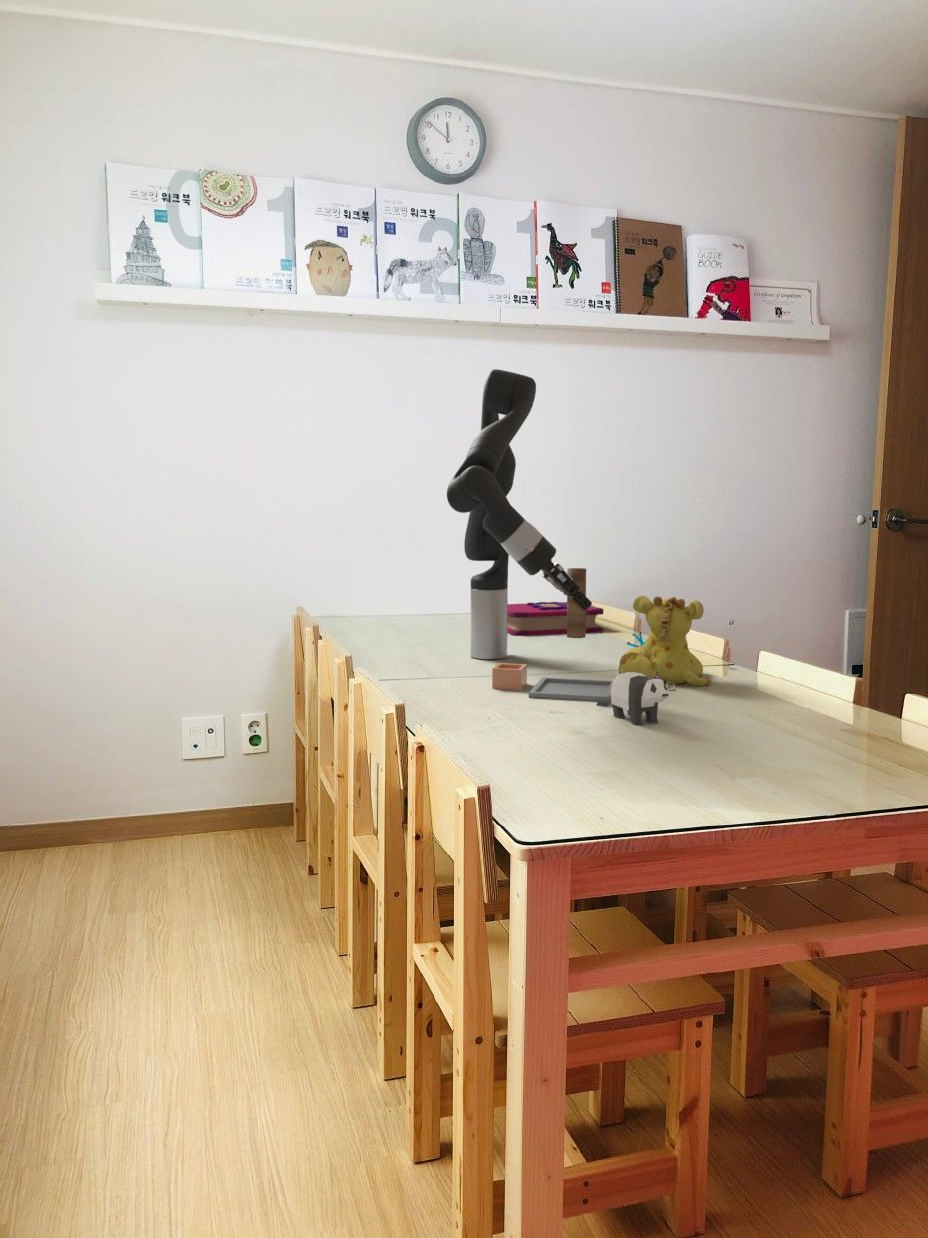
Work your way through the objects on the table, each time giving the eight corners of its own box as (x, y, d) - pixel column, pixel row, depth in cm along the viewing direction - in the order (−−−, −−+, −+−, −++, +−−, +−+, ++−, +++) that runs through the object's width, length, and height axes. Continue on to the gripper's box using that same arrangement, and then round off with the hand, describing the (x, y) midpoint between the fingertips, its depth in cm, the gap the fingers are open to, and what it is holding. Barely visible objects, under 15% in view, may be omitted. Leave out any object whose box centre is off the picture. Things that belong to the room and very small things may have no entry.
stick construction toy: (627, 653, 247) (632, 626, 250) (618, 665, 253) (622, 637, 257) (674, 667, 248) (678, 639, 251) (664, 678, 254) (667, 650, 257)
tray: (542, 685, 220) (542, 677, 220) (616, 689, 216) (616, 681, 216) (528, 701, 205) (528, 692, 205) (608, 705, 201) (608, 696, 201)
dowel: (568, 635, 211) (568, 567, 209) (586, 635, 210) (587, 568, 208) (565, 637, 207) (566, 569, 205) (584, 638, 206) (584, 569, 204)
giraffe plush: (694, 669, 239) (697, 588, 236) (725, 690, 216) (728, 601, 213) (608, 670, 238) (610, 588, 235) (630, 691, 215) (632, 601, 212)
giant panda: (607, 715, 194) (608, 665, 192) (631, 712, 196) (632, 663, 195) (652, 732, 180) (653, 680, 179) (677, 729, 183) (679, 677, 181)
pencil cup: (498, 685, 220) (498, 663, 219) (526, 687, 218) (526, 664, 217) (492, 691, 214) (492, 668, 213) (521, 693, 212) (521, 669, 212)
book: (490, 626, 307) (491, 601, 306) (577, 623, 315) (577, 598, 313) (513, 637, 287) (513, 610, 286) (604, 633, 295) (605, 607, 293)
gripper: (509, 557, 212) (566, 614, 215) (520, 563, 198) (580, 623, 201) (534, 532, 212) (591, 589, 215) (547, 535, 198) (607, 596, 201)
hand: (585, 605), depth 208 cm, fingers closed on dowel, 3 cm apart
